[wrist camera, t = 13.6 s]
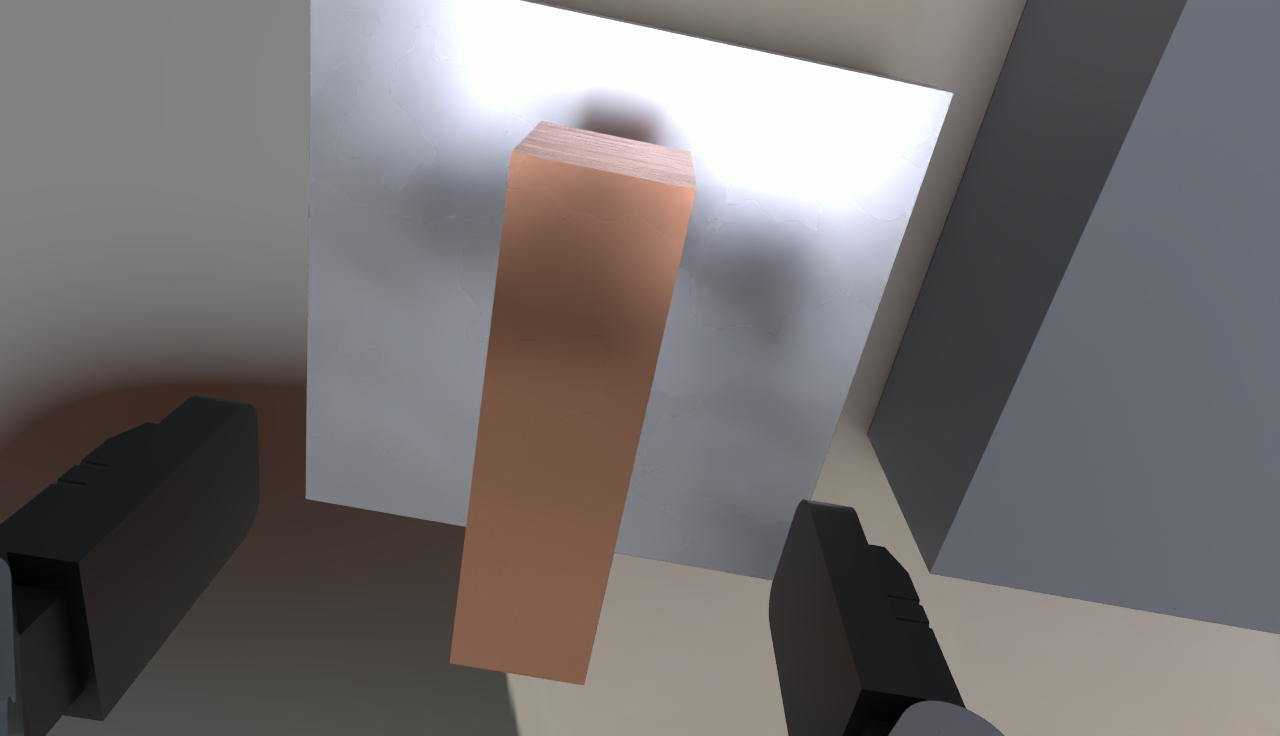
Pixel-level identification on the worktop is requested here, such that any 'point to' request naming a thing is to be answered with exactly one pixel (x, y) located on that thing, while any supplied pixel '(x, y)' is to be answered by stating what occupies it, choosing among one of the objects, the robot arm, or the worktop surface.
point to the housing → (1107, 321)
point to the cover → (587, 292)
